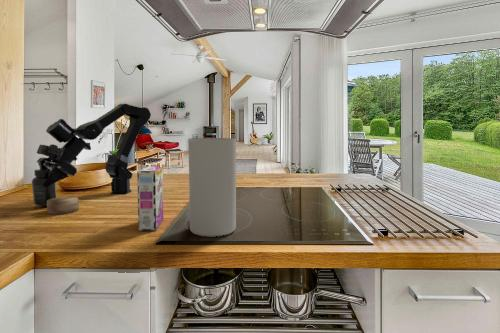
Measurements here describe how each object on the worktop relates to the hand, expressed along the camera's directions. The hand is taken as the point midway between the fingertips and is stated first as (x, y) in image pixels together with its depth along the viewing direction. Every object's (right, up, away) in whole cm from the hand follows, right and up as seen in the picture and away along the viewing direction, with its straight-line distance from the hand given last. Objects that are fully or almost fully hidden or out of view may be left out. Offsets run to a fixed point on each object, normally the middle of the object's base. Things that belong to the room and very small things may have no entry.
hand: (39, 185), depth 108 cm
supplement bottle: (+1, -7, +2) cm, 7 cm away
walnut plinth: (+11, -8, -4) cm, 14 cm away
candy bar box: (+45, -11, -18) cm, 49 cm away
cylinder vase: (+63, -11, -22) cm, 67 cm away
